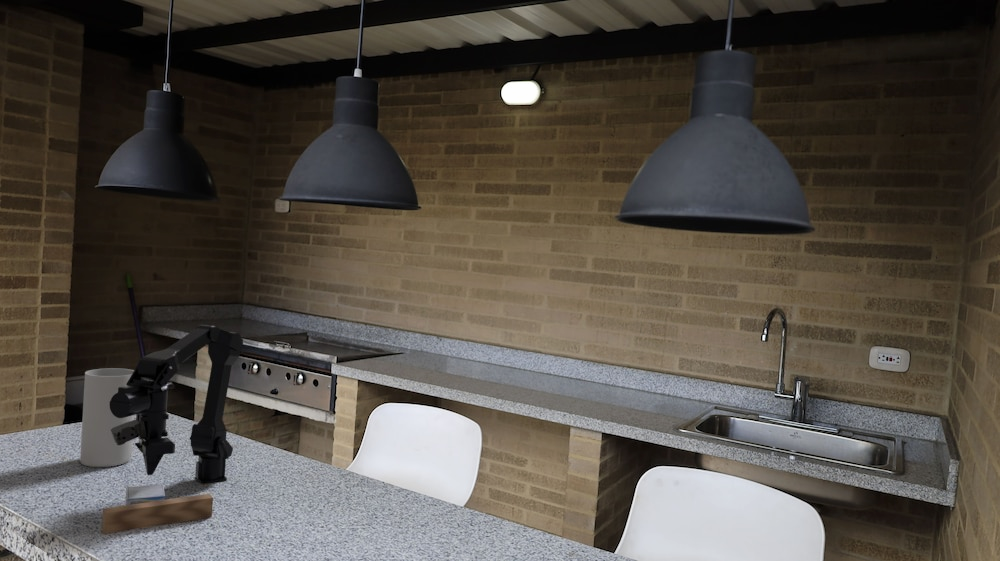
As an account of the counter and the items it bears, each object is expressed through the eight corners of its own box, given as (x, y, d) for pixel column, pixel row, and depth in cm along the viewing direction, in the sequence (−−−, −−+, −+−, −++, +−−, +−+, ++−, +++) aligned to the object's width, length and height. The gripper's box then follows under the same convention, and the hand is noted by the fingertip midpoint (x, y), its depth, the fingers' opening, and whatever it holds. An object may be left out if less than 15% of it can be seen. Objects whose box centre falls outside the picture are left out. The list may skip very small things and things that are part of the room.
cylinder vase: (134, 465, 193) (139, 375, 193) (81, 470, 186) (87, 377, 186) (128, 452, 204) (133, 367, 203) (78, 457, 197) (83, 369, 196)
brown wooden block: (208, 512, 165) (209, 493, 164) (211, 516, 162) (213, 497, 162) (101, 529, 151) (102, 508, 151) (103, 534, 149) (105, 513, 149)
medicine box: (125, 504, 165) (125, 518, 158) (126, 486, 165) (126, 498, 158) (162, 501, 169) (164, 514, 162) (163, 483, 169) (165, 495, 161)
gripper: (107, 403, 168) (104, 467, 168) (122, 421, 153) (118, 492, 153) (158, 400, 174) (155, 462, 175) (177, 417, 160) (173, 484, 160)
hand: (149, 474), depth 166 cm, fingers closed
